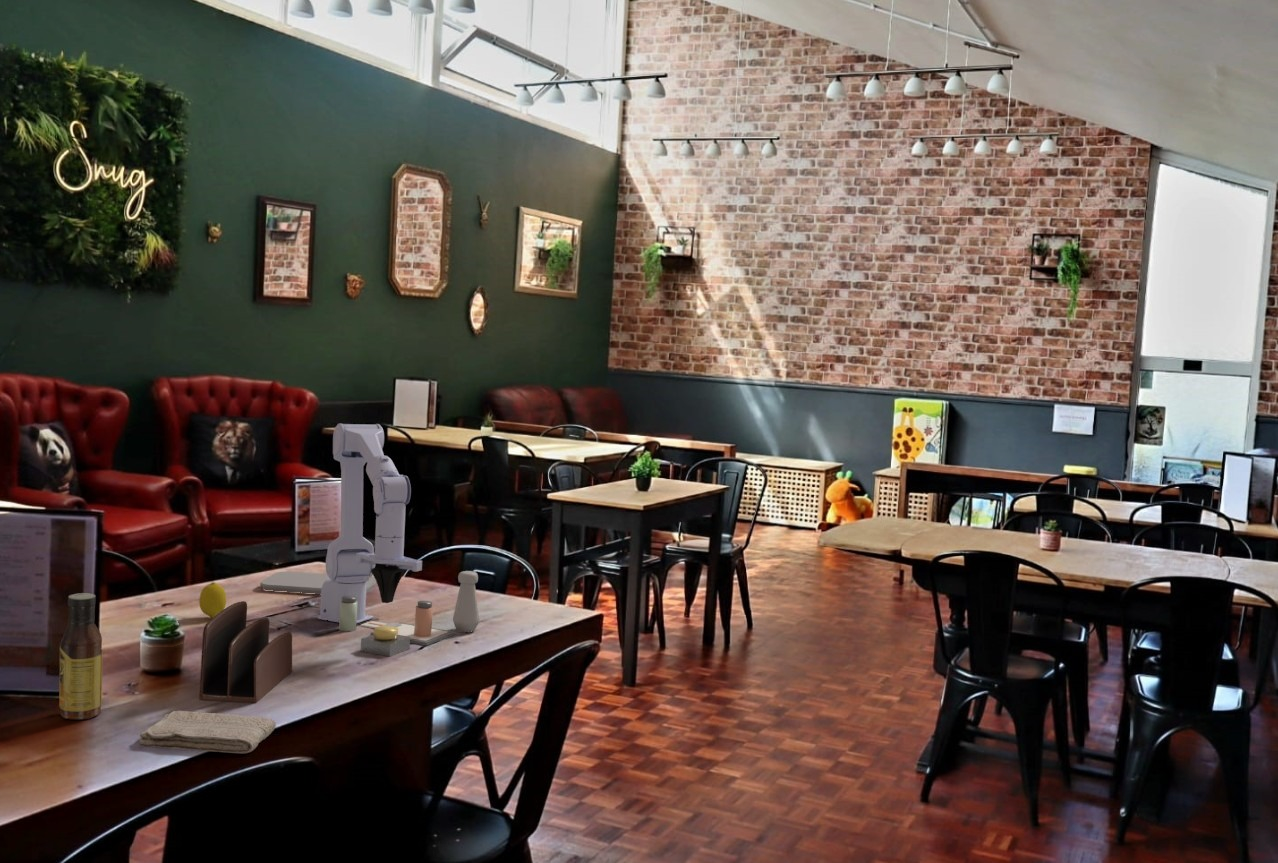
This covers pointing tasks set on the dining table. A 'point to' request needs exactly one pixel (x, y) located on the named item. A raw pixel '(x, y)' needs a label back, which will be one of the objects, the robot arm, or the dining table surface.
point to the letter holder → (241, 657)
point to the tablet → (301, 582)
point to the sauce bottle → (80, 661)
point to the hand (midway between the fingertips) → (387, 601)
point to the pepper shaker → (423, 619)
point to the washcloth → (208, 732)
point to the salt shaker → (466, 603)
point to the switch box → (385, 645)
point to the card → (373, 624)
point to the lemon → (212, 599)
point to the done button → (385, 632)
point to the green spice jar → (348, 613)
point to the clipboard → (409, 631)
